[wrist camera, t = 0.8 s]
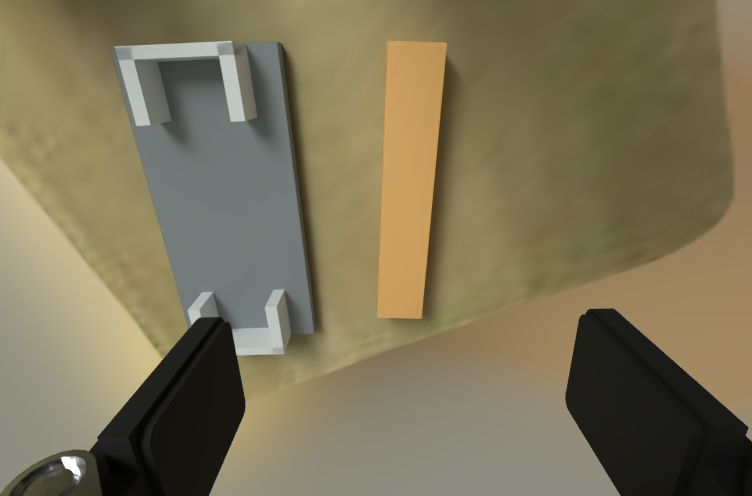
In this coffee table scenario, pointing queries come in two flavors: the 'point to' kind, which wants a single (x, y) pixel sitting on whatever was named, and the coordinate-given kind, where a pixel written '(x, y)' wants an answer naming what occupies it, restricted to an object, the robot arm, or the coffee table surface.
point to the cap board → (224, 183)
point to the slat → (408, 173)
